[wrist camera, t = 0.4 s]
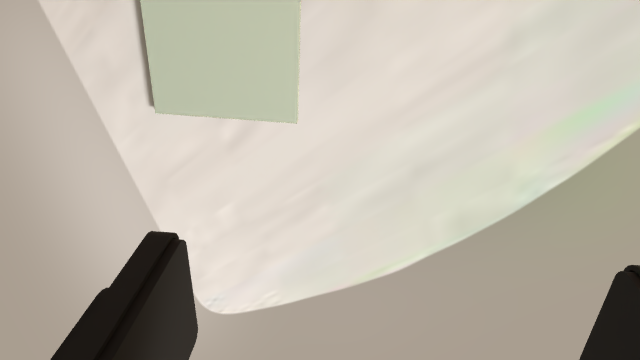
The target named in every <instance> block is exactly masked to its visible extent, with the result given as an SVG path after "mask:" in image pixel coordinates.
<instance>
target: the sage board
mask: <svg viewBox="0 0 640 360" xmlns="http://www.w3.org/2000/svg"><path fill="white" fill-rule="evenodd" d="M140 3H141V11H142V18H143V26H144V33H145V40H146V48H147V55H148V62H149V70H150V77H151V84H152V92H153V99H154V107H155V113H158V114H172V115H185V116H199V117H213V118H226V119H240V120H254V121H268V122H281V123H295V124H297V122H298V100H299V57H300V15H301V0H140Z"/></svg>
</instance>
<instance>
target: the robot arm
mask: <svg viewBox="0 0 640 360" xmlns="http://www.w3.org/2000/svg"><path fill="white" fill-rule="evenodd" d="M197 333H198V325H197V318H196V311H195V304H194V296H193V289H192V281H191V274H190V267H189V260H188V252H187V245H186V242H185V241H184V240H179V237H178V235H177V234H176V233H170V232H155V231H151V232H149V233H148V234H147V235H146V236H145V238H144V239H143V240H142V242H141V243H140V245H139V246H138V248H137V249H136V250H135V252H134V253H133V255H132V256H131V257H130V259H129V260H128V262H127V263H126V264H125V266H124V267H123V269H122V270H121V272H120V273H119V275H118V276H117V277H116V279H115V280H114V281H113V283H112V284H111V286H110V287H109V288H105V289H103V290H102V291H101V292H100V293H99V294H98V295H97V296H96V297H95V299H94V300H93V302H92V303H91V304H90V306H89V307H88V309H87V310H86V311H85V313H84V314H83V315H82V317H81V318H80V320H79V321H78V322H77V324H76V325H75V327H74V328H73V329H72V331H71V332H70V333H69V335H68V336H67V337H66V339H65V340H64V342H63V343H62V344H61V346H60V347H59V349H58V350H57V351H56V353H55V354H54V355H53V357H52V358H51V360H189V357H190V355H191V352H192V350H193V347H194V345H195V342H196V339H197ZM580 360H640V266H638V265H630V266H627V267H626V268H625V269H624V271H620V272H618V273H617V274H616V276H615V278H614V280H613V282H612V285H611V287H610V289H609V292H608V294H607V296H606V299H605V301H604V303H603V306H602V308H601V310H600V312H599V315H598V317H597V319H596V322H595V324H594V326H593V329H592V331H591V333H590V336H589V338H588V340H587V343H586V345H585V347H584V350H583V352H582V355H581V357H580Z"/></svg>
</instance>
